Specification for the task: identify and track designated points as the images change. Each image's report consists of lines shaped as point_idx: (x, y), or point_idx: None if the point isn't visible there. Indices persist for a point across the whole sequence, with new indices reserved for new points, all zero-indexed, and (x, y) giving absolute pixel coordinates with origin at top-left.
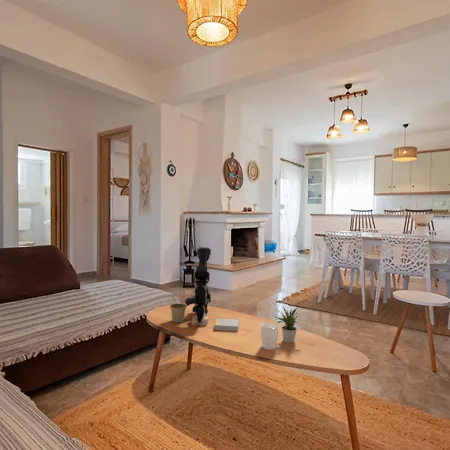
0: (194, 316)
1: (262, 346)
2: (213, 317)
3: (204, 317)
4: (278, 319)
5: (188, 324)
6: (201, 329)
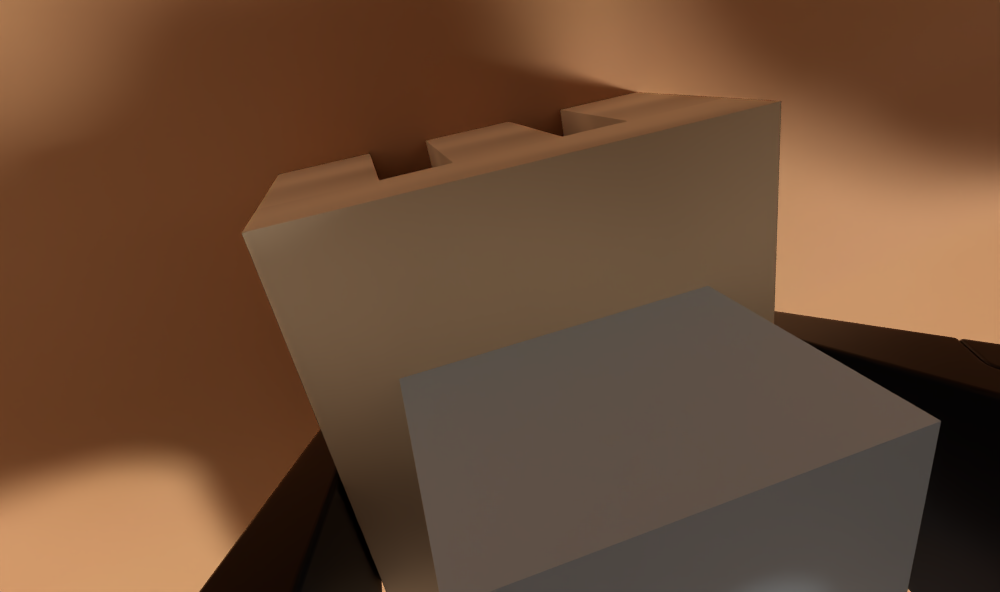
0: (611, 185)
1: None
2: None
3: None
4: None
5: (242, 18)
6: (38, 587)
